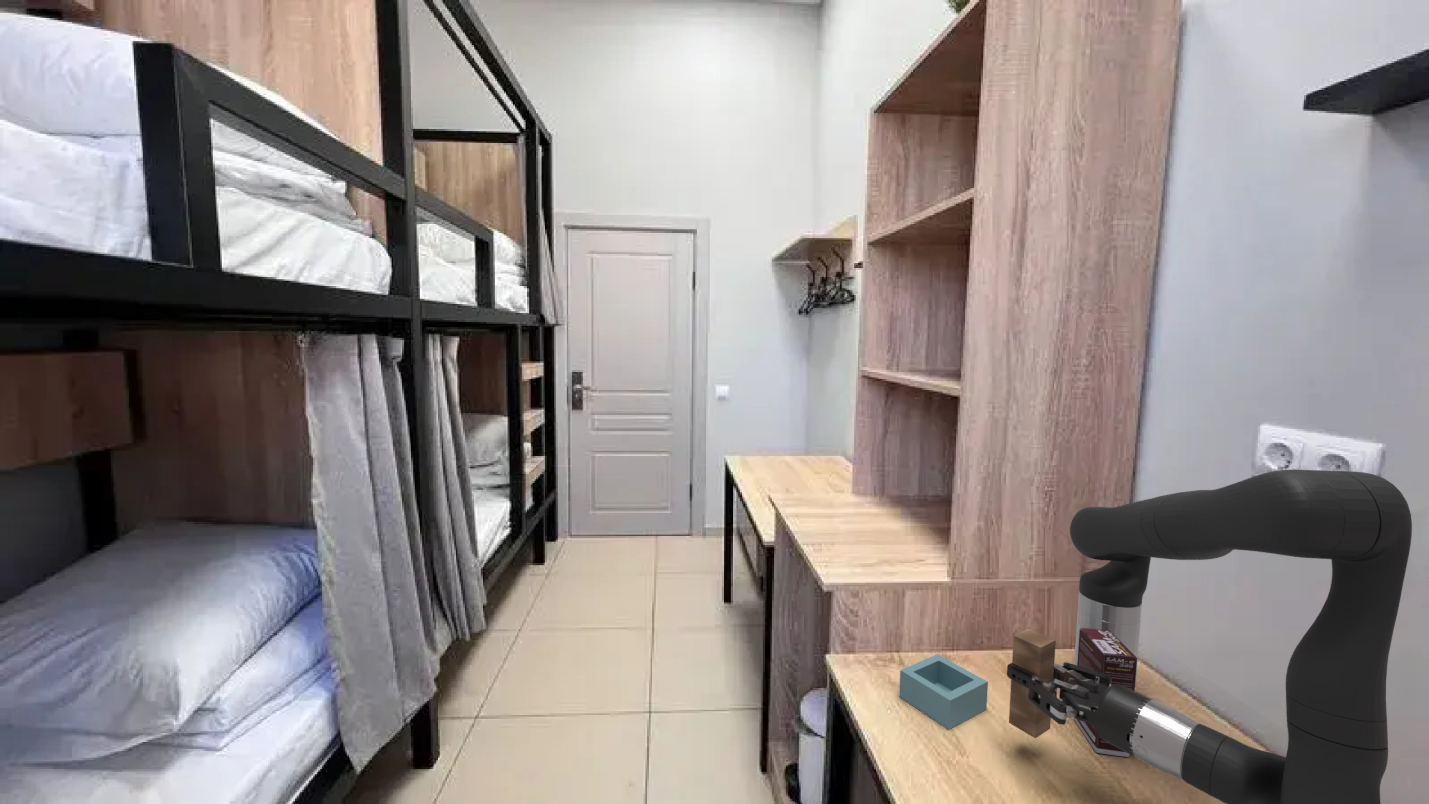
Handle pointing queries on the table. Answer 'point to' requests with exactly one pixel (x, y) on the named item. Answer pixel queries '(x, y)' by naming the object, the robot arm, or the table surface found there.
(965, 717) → the well
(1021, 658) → the walnut post
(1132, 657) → the supplement box
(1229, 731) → the table surface
